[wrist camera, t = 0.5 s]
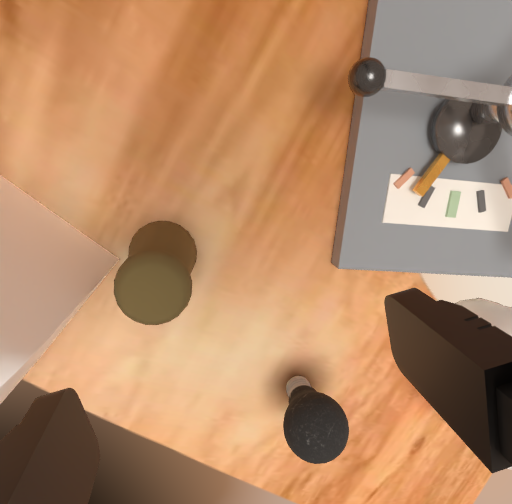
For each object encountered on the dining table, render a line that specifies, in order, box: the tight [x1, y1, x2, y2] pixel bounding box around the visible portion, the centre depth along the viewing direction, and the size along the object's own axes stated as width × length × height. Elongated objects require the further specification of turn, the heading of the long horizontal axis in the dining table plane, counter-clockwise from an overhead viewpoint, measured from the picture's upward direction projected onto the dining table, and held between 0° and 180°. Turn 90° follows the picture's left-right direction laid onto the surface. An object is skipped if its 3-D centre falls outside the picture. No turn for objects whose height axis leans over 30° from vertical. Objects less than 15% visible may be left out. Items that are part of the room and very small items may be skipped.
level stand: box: [331, 0, 512, 278], centre depth 37 cm, size 26×20×2 cm
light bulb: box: [283, 376, 349, 464], centre depth 37 cm, size 6×6×10 cm
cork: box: [114, 221, 197, 325], centre depth 31 cm, size 6×6×11 cm
